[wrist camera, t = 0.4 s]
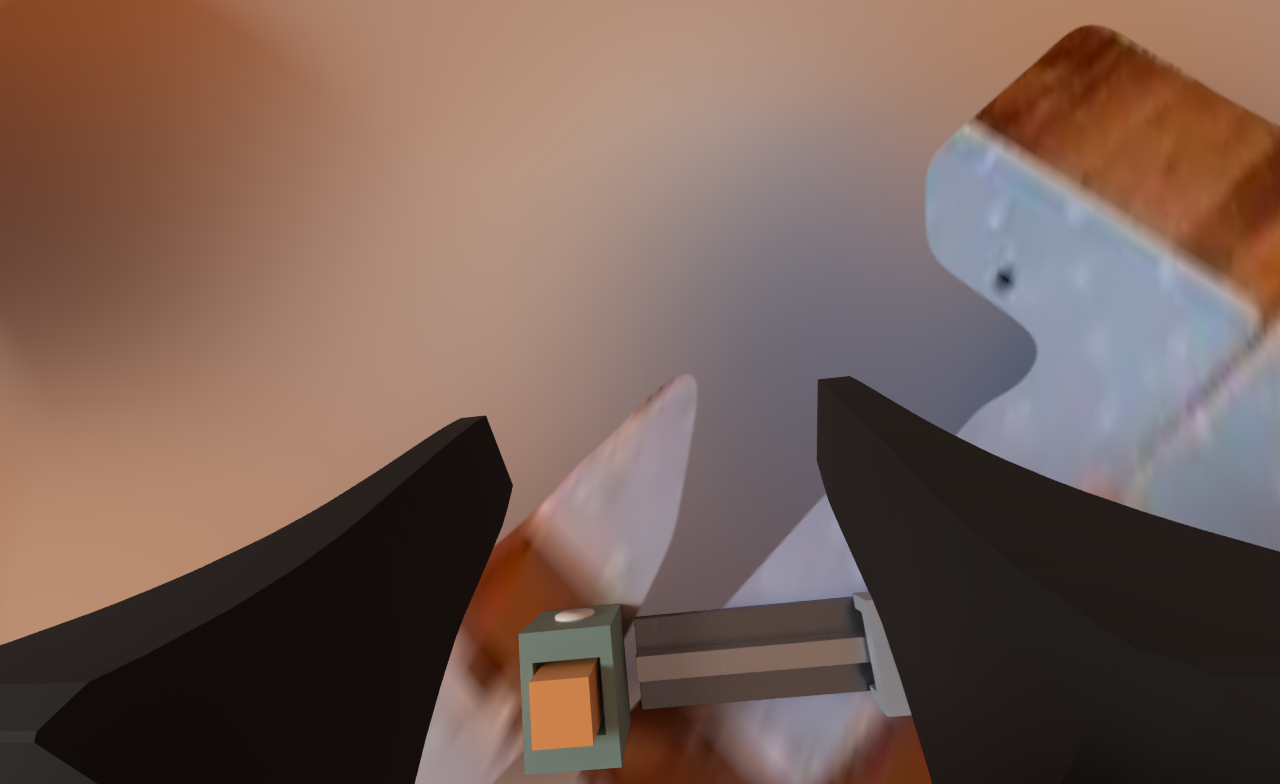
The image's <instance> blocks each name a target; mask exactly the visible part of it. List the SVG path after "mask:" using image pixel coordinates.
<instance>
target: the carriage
mask: <svg viewBox="0 0 1280 784" xmlns="http://www.w3.org/2000/svg"><path fill="white" fill-rule="evenodd" d="M853 599H854V604H855V608H856V609H857V610H859V611H861V612H862V617H863V622H864V627H865V633H866V638H867V643H868V649H869V654H870V659H871V664H872V670H873V675H874V680H875V685H870V690H871V695H872V700H873V702H874V703H875V704H876V705H877V706H878V707H879V708H880V709H881V710H882V711H883V712H884V714H885V715H886V716H887V717H893V716H906V715H911V711H910V708H909V705H908V702H907V699H906V696H905V692H904V689H903V686H902V683H901V680H900V676H899V673H898V670H897V667H896V664H895V661H894V658H893V655H892V652H891V649H890V646H889V643H888V640H887V637H886V634H885V631H884V628H883V625H882V622H881V620H880V617H879V615H878V612H877V610H876V607H875V605H874V602H873V600H872V597H871V595H870V593H869V592H861V593H853Z"/></svg>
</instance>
